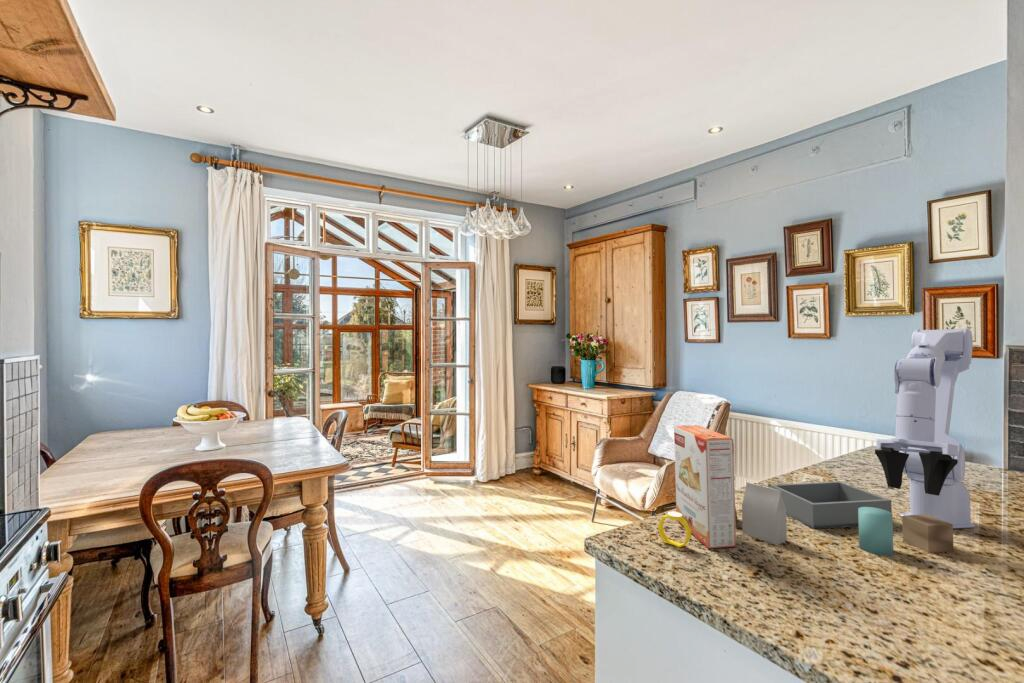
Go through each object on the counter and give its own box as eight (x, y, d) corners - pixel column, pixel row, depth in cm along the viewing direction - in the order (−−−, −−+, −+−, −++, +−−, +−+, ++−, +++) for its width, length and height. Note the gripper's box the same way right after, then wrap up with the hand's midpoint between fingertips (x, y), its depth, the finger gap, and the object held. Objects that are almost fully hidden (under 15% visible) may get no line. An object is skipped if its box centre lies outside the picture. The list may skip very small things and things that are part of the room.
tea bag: (776, 545, 89) (775, 492, 89) (742, 533, 95) (741, 484, 95) (786, 540, 91) (785, 489, 91) (752, 529, 97) (751, 480, 97)
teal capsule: (876, 543, 89) (875, 506, 89) (900, 554, 84) (899, 515, 84) (852, 544, 89) (851, 507, 89) (875, 556, 84) (874, 517, 84)
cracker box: (674, 521, 101) (672, 425, 102) (701, 520, 102) (699, 424, 102) (706, 549, 88) (704, 438, 88) (737, 548, 88) (735, 436, 88)
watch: (656, 542, 91) (655, 511, 91) (662, 538, 93) (662, 508, 93) (686, 551, 87) (686, 519, 87) (692, 546, 89) (692, 515, 89)
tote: (840, 502, 111) (839, 481, 111) (891, 524, 98) (891, 500, 98) (770, 506, 110) (770, 484, 110) (813, 528, 96) (812, 504, 96)
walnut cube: (926, 540, 90) (926, 514, 90) (953, 551, 85) (952, 524, 85) (902, 541, 90) (902, 515, 90) (928, 553, 85) (927, 525, 85)
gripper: (864, 415, 97) (860, 481, 95) (933, 415, 83) (930, 494, 81) (895, 421, 98) (892, 487, 95) (969, 422, 83) (967, 501, 81)
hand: (912, 491), depth 88 cm, fingers open, 7 cm apart
